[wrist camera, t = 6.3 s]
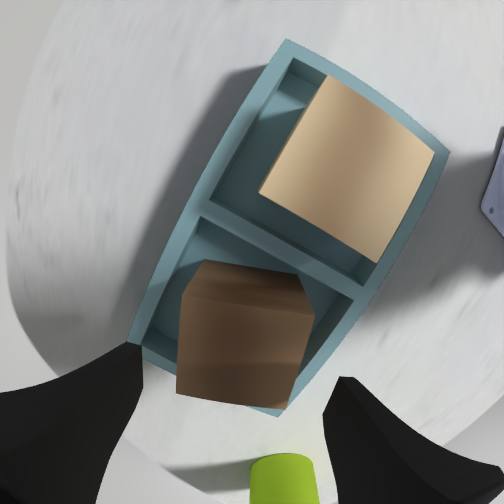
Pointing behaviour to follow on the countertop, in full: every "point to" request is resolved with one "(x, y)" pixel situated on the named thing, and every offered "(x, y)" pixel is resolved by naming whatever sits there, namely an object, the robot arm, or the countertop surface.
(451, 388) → the countertop surface
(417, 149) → the oak twin block
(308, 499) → the soap dispenser
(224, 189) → the caddy
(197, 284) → the walnut block
